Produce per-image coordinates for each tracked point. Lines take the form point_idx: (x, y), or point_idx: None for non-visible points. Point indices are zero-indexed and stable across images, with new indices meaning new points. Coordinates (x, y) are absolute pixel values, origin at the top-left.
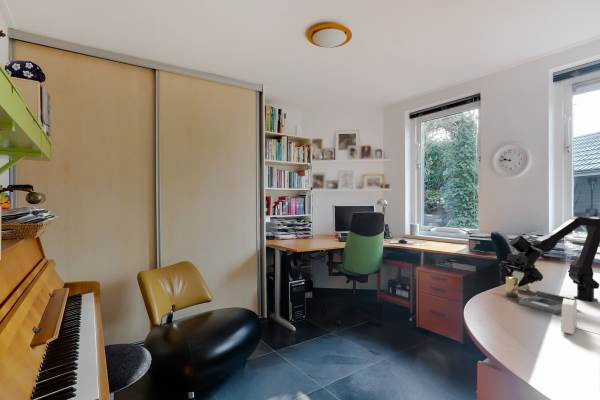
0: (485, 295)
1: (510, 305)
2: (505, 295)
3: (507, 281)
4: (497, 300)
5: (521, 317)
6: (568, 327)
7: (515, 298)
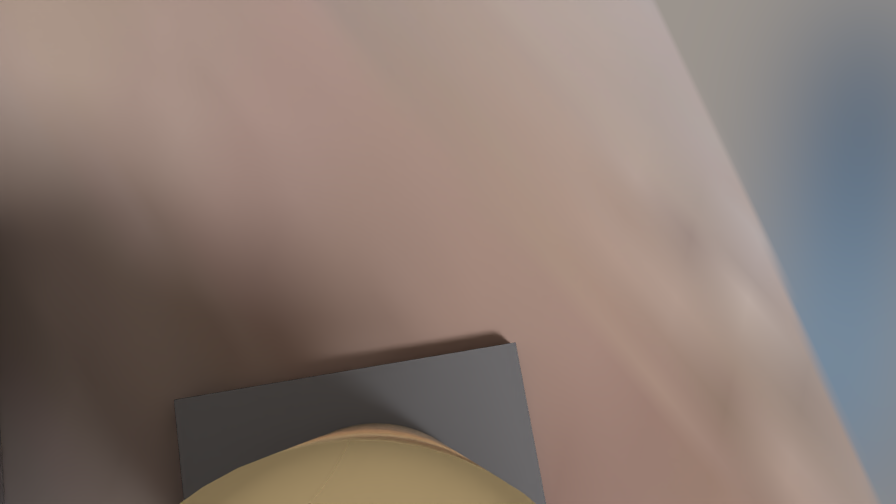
0: (636, 110)
1: (28, 15)
2: None
3: (398, 438)
4: (325, 53)
5: None
6: None
7: None
